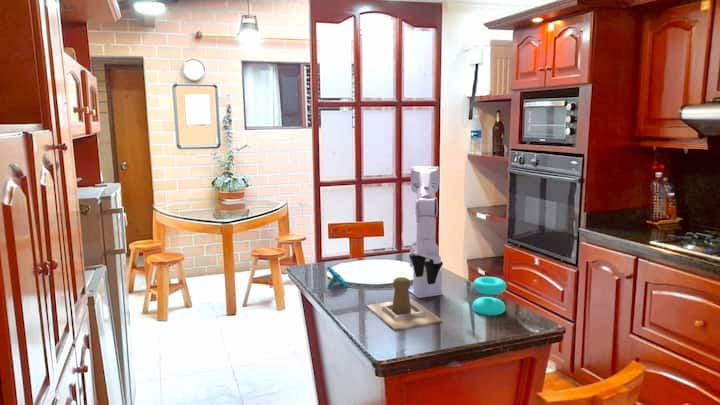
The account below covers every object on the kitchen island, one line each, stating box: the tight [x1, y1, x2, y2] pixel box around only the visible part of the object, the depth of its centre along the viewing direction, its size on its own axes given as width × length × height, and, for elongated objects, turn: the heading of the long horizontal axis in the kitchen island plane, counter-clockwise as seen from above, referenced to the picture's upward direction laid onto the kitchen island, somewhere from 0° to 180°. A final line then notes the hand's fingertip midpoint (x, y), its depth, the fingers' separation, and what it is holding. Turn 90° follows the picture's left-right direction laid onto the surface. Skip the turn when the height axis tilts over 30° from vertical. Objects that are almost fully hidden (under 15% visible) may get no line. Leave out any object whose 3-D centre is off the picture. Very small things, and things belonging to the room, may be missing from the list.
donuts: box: [472, 276, 507, 317], centre depth 163 cm, size 10×10×10 cm
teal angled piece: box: [326, 266, 349, 289], centre depth 186 cm, size 11×6×10 cm
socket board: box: [366, 297, 444, 331], centre depth 161 cm, size 16×20×2 cm
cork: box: [392, 276, 411, 315], centre depth 160 cm, size 6×6×11 cm
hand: (425, 280), depth 161 cm, fingers open, 7 cm apart
